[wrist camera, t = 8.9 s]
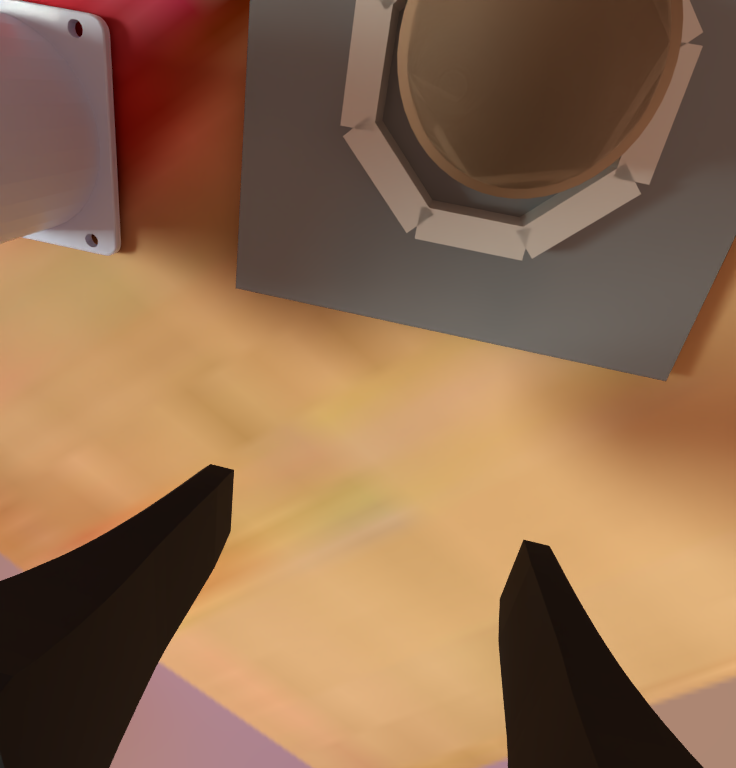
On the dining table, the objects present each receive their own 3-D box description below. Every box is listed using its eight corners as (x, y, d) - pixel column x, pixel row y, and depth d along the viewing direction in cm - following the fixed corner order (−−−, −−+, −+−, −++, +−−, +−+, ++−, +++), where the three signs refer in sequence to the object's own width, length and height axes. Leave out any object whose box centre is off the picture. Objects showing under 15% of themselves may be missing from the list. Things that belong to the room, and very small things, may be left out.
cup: (399, 147, 18) (376, 173, 12) (436, -66, 15) (428, -149, 10) (568, 180, 17) (618, 220, 12) (636, -31, 15) (736, -95, 10)
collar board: (245, 280, 22) (219, 300, 20) (279, -318, 14) (244, -394, 12) (657, 369, 21) (679, 401, 19) (936, -230, 13) (1029, -296, 11)
